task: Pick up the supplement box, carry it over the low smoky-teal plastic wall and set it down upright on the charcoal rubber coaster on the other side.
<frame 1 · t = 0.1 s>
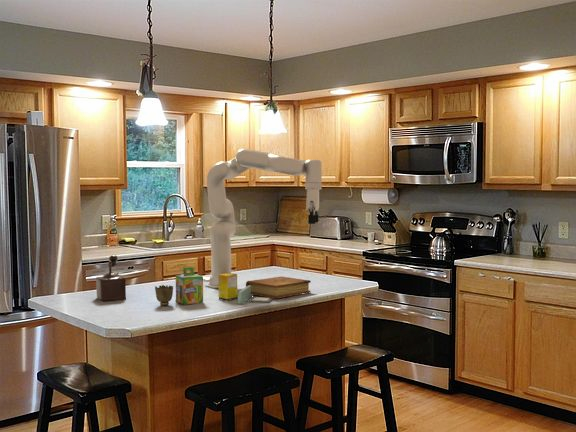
hand: (313, 223, 299), 31 cm above the table, fingers open, 9 cm apart
cup: (164, 305, 264), on the table
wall: (245, 300, 275), on the table
coaster: (261, 300, 274), on the table
coffee grinder: (110, 298, 282), on the table
supplement box: (228, 299, 278), on the table
diary: (278, 293, 290), on the table, touching coaster
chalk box: (189, 302, 271), on the table
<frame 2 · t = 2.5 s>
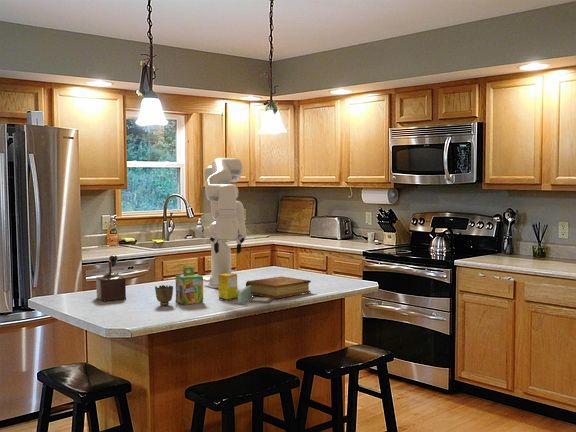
hand: (227, 253, 276), 20 cm above the table, fingers open, 9 cm apart
nothing on the table moved.
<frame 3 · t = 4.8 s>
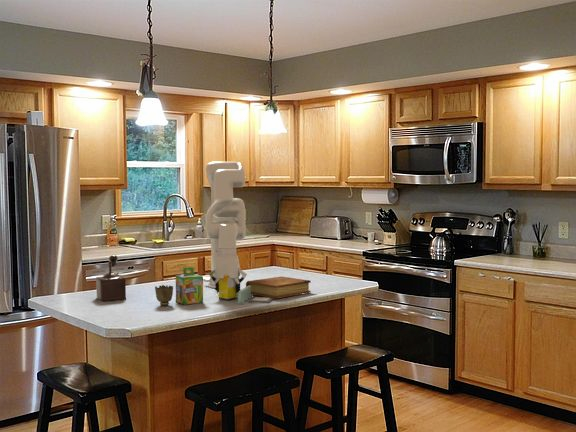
hand: (227, 292, 278), 3 cm above the table, fingers closed on supplement box, 8 cm apart
supplement box: (227, 299, 278), on the table, touching gripper
everything else where it was.
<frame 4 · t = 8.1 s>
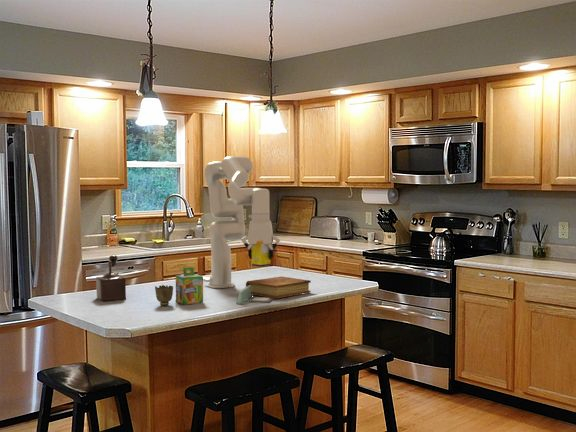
hand: (260, 258, 273), 18 cm above the table, fingers closed on supplement box, 8 cm apart
supplement box: (260, 266, 273), point 15 cm above the table, touching gripper
everything else where it was.
when the fingers open (4 cm above the table, at t = 11.4 s): supplement box stays where it is, resting on coaster.
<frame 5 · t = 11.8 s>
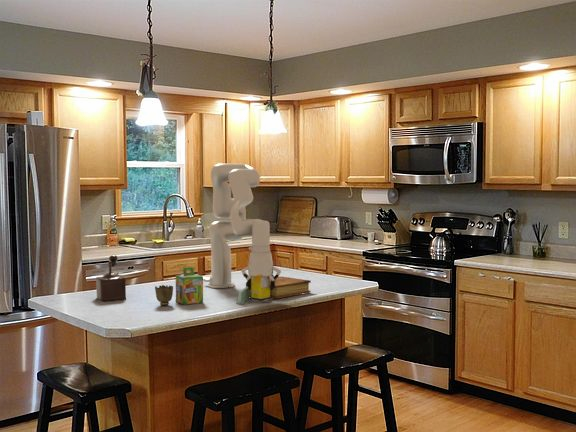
hand: (261, 289, 274), 5 cm above the table, fingers open, 9 cm apart
supplement box: (260, 299, 274), resting on coaster
everything else where it was.
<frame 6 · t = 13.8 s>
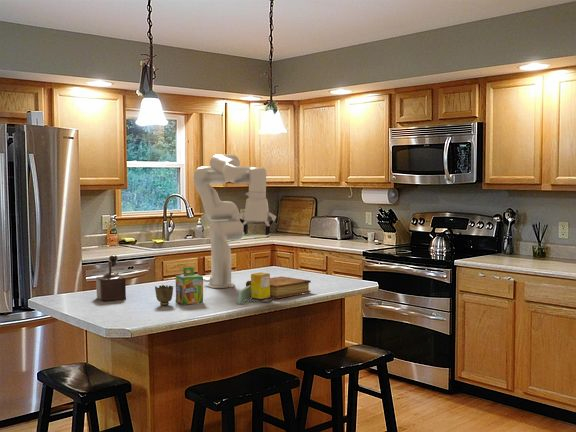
hand: (256, 234, 283), 27 cm above the table, fingers open, 9 cm apart
nothing on the table moved.
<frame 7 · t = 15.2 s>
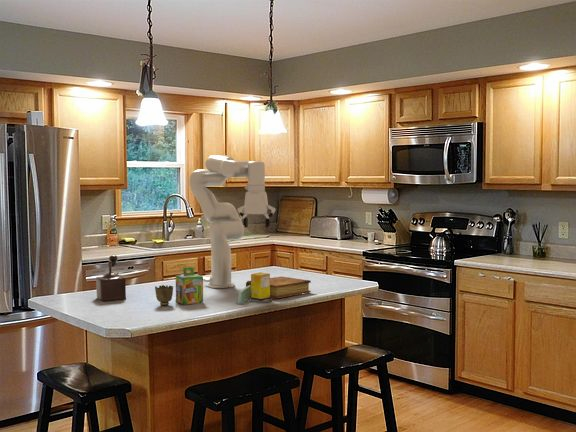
hand: (256, 227, 286), 30 cm above the table, fingers open, 9 cm apart
nothing on the table moved.
at the end: supplement box inside the target area on the coaster (0.3 cm from its centre), point 0.5 cm above the coaster's base; supplement box tilted 0°; the gripper is holding nothing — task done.
